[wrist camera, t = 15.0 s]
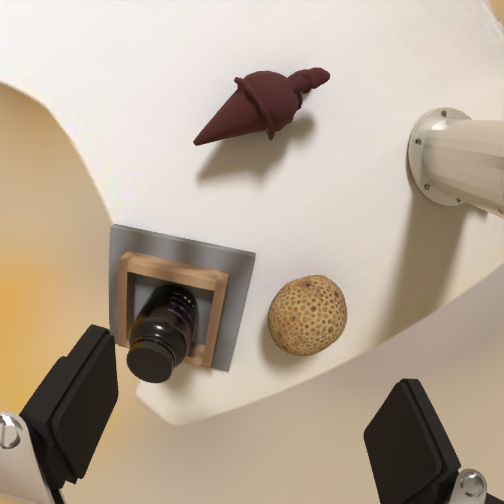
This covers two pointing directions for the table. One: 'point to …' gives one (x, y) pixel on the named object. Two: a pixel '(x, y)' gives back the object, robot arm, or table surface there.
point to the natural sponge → (307, 315)
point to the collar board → (186, 276)
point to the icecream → (261, 104)
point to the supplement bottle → (162, 333)
